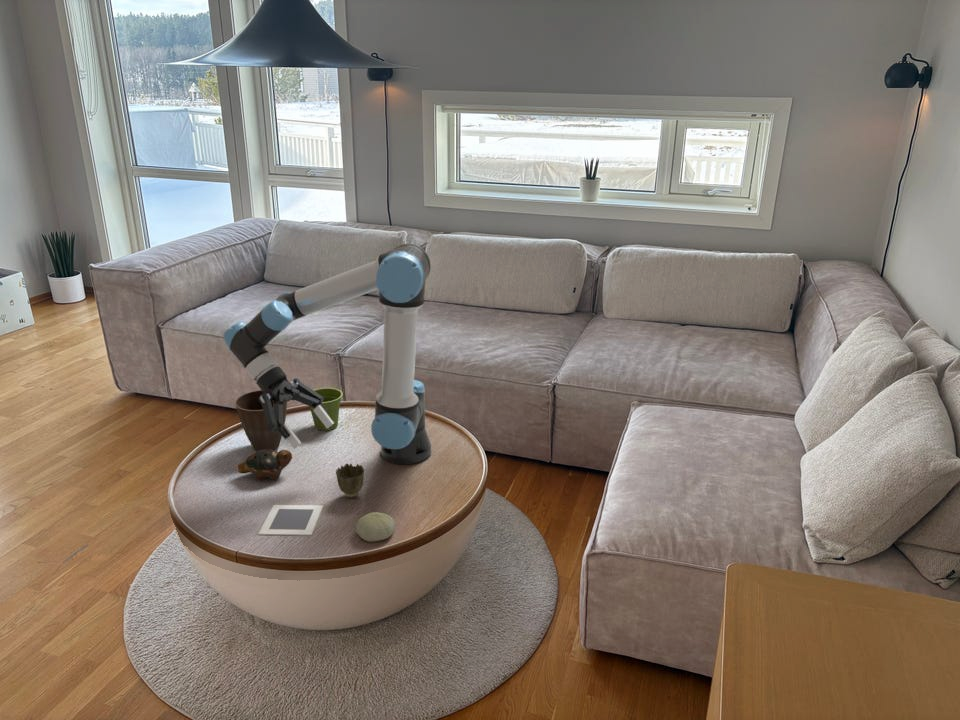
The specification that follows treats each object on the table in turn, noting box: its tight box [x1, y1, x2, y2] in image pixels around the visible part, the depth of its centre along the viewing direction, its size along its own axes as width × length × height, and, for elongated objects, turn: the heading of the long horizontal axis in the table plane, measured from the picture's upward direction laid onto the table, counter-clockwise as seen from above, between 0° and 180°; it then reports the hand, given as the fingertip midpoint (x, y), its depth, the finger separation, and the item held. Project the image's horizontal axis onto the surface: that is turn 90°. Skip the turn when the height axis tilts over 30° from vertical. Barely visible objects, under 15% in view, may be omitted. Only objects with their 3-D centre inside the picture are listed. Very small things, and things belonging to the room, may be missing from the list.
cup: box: [335, 463, 365, 499], centre depth 191 cm, size 8×7×8 cm
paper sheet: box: [258, 504, 324, 536], centre depth 181 cm, size 13×13×1 cm
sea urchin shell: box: [355, 511, 395, 543], centre depth 176 cm, size 9×8×8 cm
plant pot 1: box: [234, 389, 288, 452], centre depth 215 cm, size 15×15×16 cm
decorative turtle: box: [237, 449, 293, 482], centre depth 201 cm, size 10×15×8 cm, turn 103°
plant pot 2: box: [309, 387, 344, 432], centre depth 230 cm, size 12×12×11 cm
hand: (314, 435), depth 191 cm, fingers open, 13 cm apart
